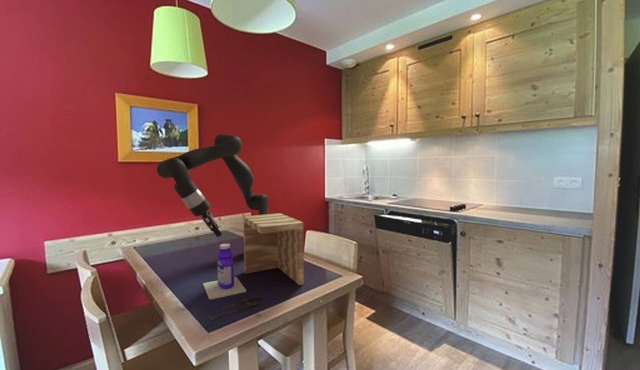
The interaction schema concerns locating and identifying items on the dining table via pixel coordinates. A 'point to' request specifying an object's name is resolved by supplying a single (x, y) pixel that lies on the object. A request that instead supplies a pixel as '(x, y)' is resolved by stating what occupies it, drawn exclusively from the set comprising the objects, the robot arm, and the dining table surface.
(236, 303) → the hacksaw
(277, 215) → the wooden slatted crate
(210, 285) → the mat
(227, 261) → the bottle
